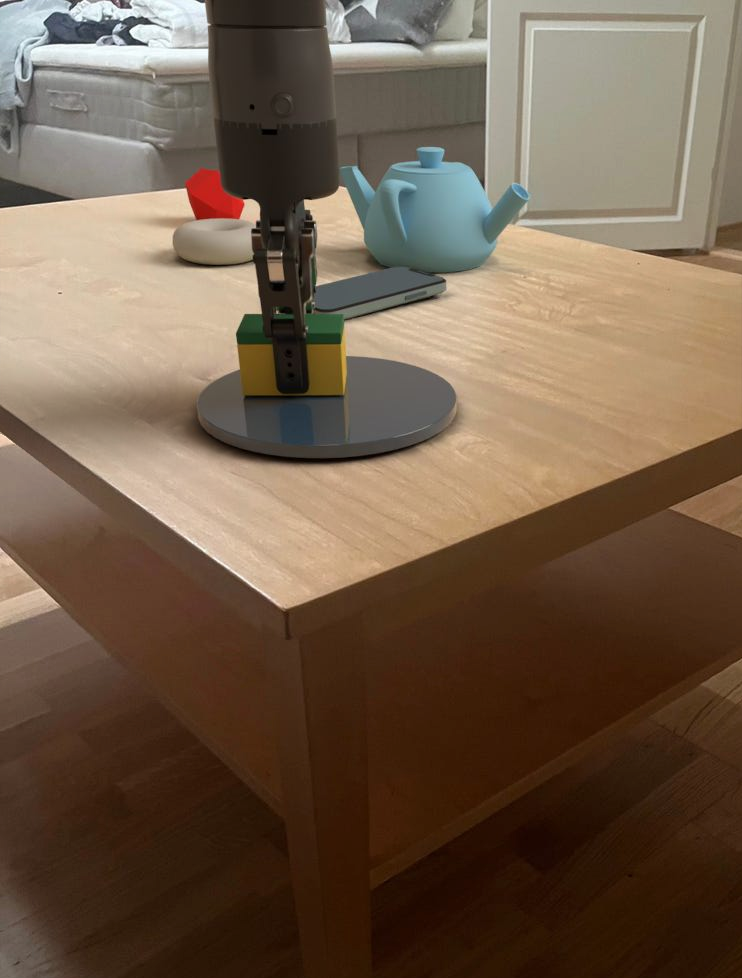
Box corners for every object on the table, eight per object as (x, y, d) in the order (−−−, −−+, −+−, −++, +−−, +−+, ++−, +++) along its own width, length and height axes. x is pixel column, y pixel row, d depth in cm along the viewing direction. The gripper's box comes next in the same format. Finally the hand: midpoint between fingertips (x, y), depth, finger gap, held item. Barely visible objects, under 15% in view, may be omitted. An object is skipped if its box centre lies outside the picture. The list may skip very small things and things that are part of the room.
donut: (287, 256, 111) (219, 242, 115) (285, 223, 109) (216, 210, 113) (224, 274, 104) (154, 259, 108) (220, 239, 102) (149, 225, 106)
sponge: (242, 396, 69) (235, 332, 67) (250, 374, 73) (244, 313, 71) (344, 395, 70) (340, 332, 68) (346, 374, 74) (343, 313, 71)
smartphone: (276, 293, 92) (400, 263, 101) (278, 312, 93) (401, 280, 102) (325, 311, 88) (451, 278, 96) (327, 330, 89) (451, 295, 97)
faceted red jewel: (256, 179, 120) (217, 146, 123) (207, 196, 117) (169, 162, 119) (259, 230, 126) (221, 197, 128) (212, 248, 122) (175, 214, 125)
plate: (177, 464, 63) (174, 446, 62) (218, 370, 78) (216, 355, 77) (464, 461, 64) (464, 444, 63) (450, 370, 79) (450, 355, 78)
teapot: (394, 285, 101) (391, 162, 95) (340, 249, 114) (335, 140, 108) (530, 272, 106) (536, 156, 100) (464, 240, 119) (466, 135, 113)
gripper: (229, 98, 68) (255, 349, 77) (193, 124, 56) (229, 416, 65) (341, 100, 68) (353, 348, 78) (329, 125, 56) (345, 415, 66)
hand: (296, 378), depth 71 cm, fingers closed on sponge, 4 cm apart
